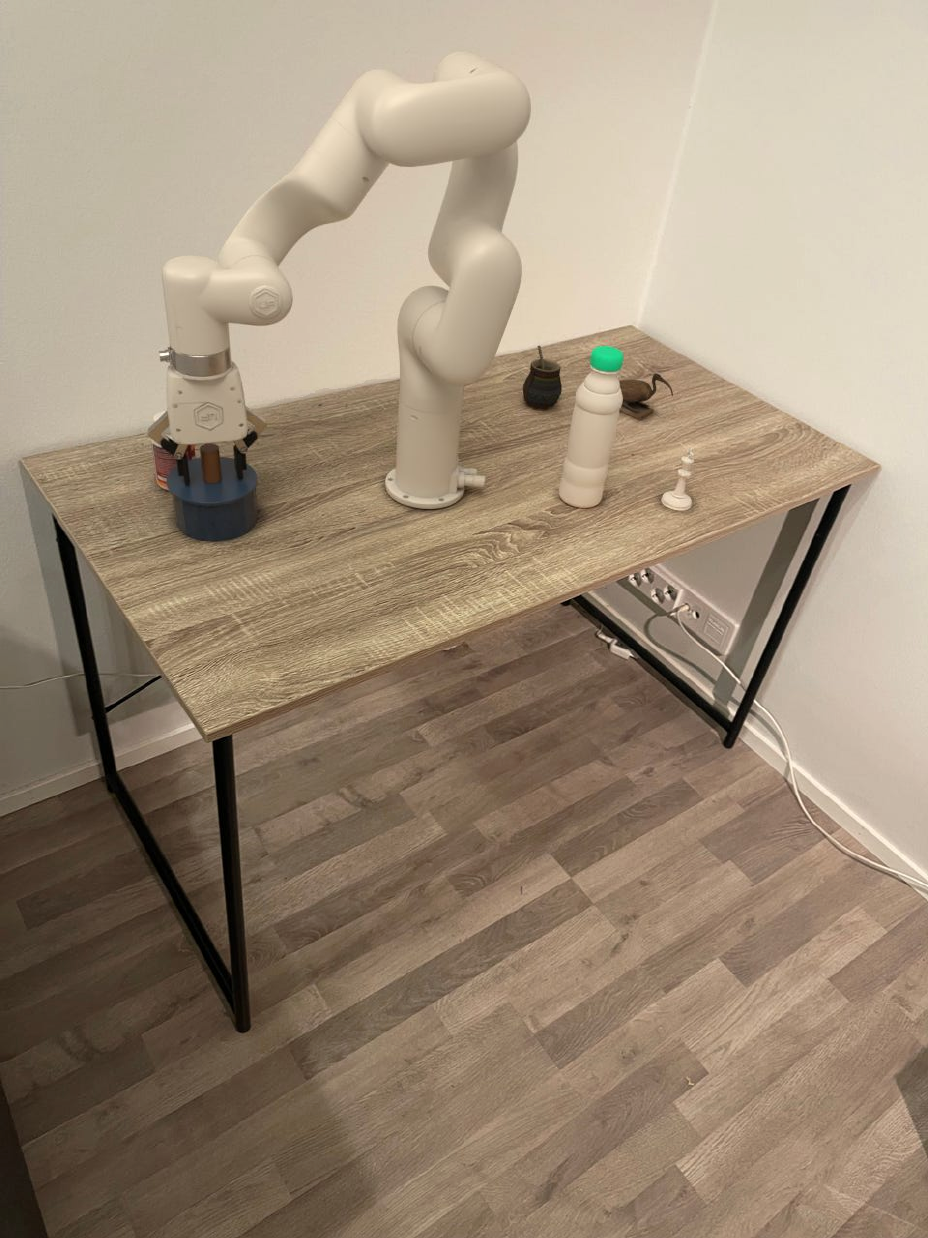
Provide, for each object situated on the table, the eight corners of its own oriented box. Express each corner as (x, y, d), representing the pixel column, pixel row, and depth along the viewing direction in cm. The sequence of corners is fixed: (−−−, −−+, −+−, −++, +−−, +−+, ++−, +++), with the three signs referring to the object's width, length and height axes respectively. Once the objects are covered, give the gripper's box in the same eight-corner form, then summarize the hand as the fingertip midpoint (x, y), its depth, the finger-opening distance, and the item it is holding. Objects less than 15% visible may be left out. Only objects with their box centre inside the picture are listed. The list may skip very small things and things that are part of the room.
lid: (265, 466, 139) (263, 429, 135) (249, 513, 129) (246, 474, 125) (179, 459, 138) (175, 422, 134) (156, 505, 128) (151, 467, 124)
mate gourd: (534, 416, 171) (541, 365, 165) (512, 398, 176) (518, 348, 169) (566, 410, 174) (574, 359, 168) (543, 392, 179) (551, 342, 173)
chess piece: (673, 513, 149) (688, 458, 143) (655, 497, 153) (669, 443, 146) (697, 507, 151) (713, 453, 145) (678, 492, 155) (693, 438, 148)
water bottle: (605, 492, 152) (636, 346, 136) (596, 514, 147) (627, 365, 131) (563, 482, 154) (590, 336, 138) (553, 503, 148) (579, 354, 133)
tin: (263, 500, 142) (261, 464, 138) (249, 544, 133) (246, 507, 129) (186, 494, 141) (182, 458, 137) (167, 538, 132) (161, 500, 128)
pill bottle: (204, 487, 143) (198, 422, 136) (165, 496, 140) (156, 431, 133) (189, 468, 147) (182, 404, 140) (151, 477, 144) (141, 412, 137)
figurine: (672, 421, 174) (683, 378, 169) (659, 429, 171) (669, 385, 166) (611, 394, 181) (620, 352, 175) (597, 401, 178) (606, 358, 173)
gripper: (133, 374, 116) (151, 497, 127) (273, 365, 121) (279, 483, 133) (129, 349, 121) (146, 469, 133) (263, 341, 127) (269, 457, 138)
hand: (212, 475), depth 132 cm, fingers open, 6 cm apart
